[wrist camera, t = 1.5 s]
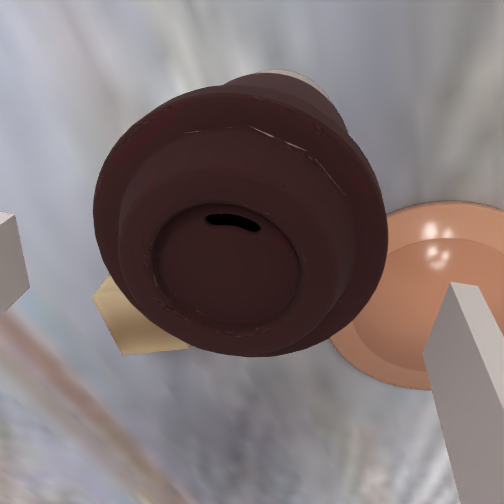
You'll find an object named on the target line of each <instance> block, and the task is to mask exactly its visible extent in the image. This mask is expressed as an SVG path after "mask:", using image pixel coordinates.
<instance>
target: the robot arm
mask: <svg viewBox="0 0 504 504" xmlns="http://www.w3.org/2000/svg"><path fill="white" fill-rule="evenodd" d="M29 288H30V285H29V280H28V276H27V271H26V266H25V261H24V256H23V252H22V247H21V242H20V237H19V232H18V228H17V223H16V218H15V214H8V213H2V212H0V316H1V315H2V314H3V313H4V312H5V311H6V310H7V309H8V308H9V307H10V306H11V305H12V304H13V303H14V302H15V301H16V300H17V299H18V298H19V297H21V296H22V295H23V294H24V293H25V292H26V291H27V290H28V289H29ZM422 354H423V358H424V362H425V365H426V369H427V373H428V377H429V381H430V385H431V389H432V393H433V396H434V400H435V404H436V408H437V412H438V416H439V420H440V424H441V427H442V431H443V435H444V439H445V443H446V447H447V451H448V455H449V458H450V462H451V466H452V470H453V474H454V478H455V482H456V486H457V489H458V493H459V497H460V501H461V504H504V336H503V334H502V332H501V331H500V329H499V327H498V325H497V323H496V321H495V319H494V317H493V315H492V313H491V311H490V309H489V307H488V305H487V303H486V301H485V299H484V297H483V295H482V293H481V291H480V289H479V287H478V286H475V285H469V284H462V283H456V282H450V283H449V286H448V288H447V291H446V294H445V296H444V299H443V301H442V304H441V306H440V309H439V312H438V314H437V317H436V319H435V322H434V325H433V327H432V330H431V332H430V335H429V337H428V340H427V343H426V345H425V348H424V350H423V353H422Z"/></svg>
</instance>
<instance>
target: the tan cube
mask: <svg viewBox="0 0 504 504" xmlns="http://www.w3.org/2000/svg"><path fill="white" fill-rule="evenodd" d="M92 299H93V301H94V303H95V304H96V306H97V308H98V310H99V312H100V314H101V316H102V318H103V319H104V321H105V323H106V325H107V327H108V329H109V331H110V333H111V335H112V336H113V338H114V340H115V342H116V344H117V346H118V348H119V350H120V352H121V353H122V355H128V354H139V353H149V352H160V351H171V350H181V349H189V347H190V344H187V343H185V342H183V341H182V340H180V339H178V338H176V337H174V336H172V335H171V334H169V333H167V332H165V331H164V330H163V329H161V328H160V327H158V326H157V325H155V324H154V323H152V322H151V321H149V320H148V319H147V318H146V317H145V316H144V315H143V314H142V313H141V312H140V311H139V310H137V309H136V308H135V307H134V306H133V305H132V304H131V303H130V302H129V301H128V299H127V298H126V297H125V295H124V294H123V293H122V292H121V290H120V289H119V288H118V286H117V285H116V284H115V282H114V280H113V279H112V277H111V275H110V274H109V275H108V277H107V278H106V279H105V281H104V282H103V283H102V285H101V286H100V287H99V289H98V290H97V291H96V292H95V294H94V295H93V296H92Z"/></svg>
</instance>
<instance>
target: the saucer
mask: <svg viewBox="0 0 504 504" xmlns="http://www.w3.org/2000/svg"><path fill="white" fill-rule="evenodd" d="M386 216H387V224H388V252H387V257H386V262H385V267H384V270H383V274H382V277H381V279H380V282H379V284H378V286H377V288H376V290H375V292H374V294H373V295H372V297H371V298H370V300H369V302H368V303H367V304H366V306H365V307H364V308H363V309H362V311H361V312H360V313H359V314H358V315H357V317H356V318H355V319H354V320H353V321H352V322H350V323H349V324H348V325H347V326H346V327H345V328H343V329H342V330H340V331H339V332H337V333H336V334H334V335H333V336H331V337H330V339H331V341H332V343H333V345H334V346H335V347H336V349H337V350H338V351H339V353H340V354H341V355H342V356H343V357H344V358H345V359H346V360H347V361H348V362H349V363H351V364H352V365H353V366H354V367H356V368H357V369H358V370H360V371H362V372H364V373H365V374H367V375H369V376H371V377H373V378H375V379H377V380H380V381H382V382H385V383H388V384H391V385H395V386H399V387H404V388H410V389H418V390H432V389H431V385H430V381H429V377H428V373H427V369H426V365H425V362H424V358H423V354H422V353H423V350H424V348H425V345H426V343H427V340H428V337H429V335H430V332H431V330H432V327H433V325H434V322H435V319H436V317H437V314H438V312H439V309H440V306H441V304H442V301H443V299H444V296H445V294H446V291H447V288H448V286H449V283H450V282H456V283H462V284H469V285H475V286H478V287H479V289H480V291H481V293H482V295H483V297H484V299H485V301H486V303H487V305H488V307H489V309H490V311H491V313H492V315H493V317H494V319H495V321H496V323H497V325H498V327H499V329H500V331H501V332H502V334H503V336H504V211H503V210H500V209H497V208H494V207H491V206H488V205H483V204H478V203H473V202H463V201H436V202H429V203H422V204H417V205H413V206H410V207H406V208H402V209H400V210H397V211H394V212H392V213H389V214H387V215H386Z"/></svg>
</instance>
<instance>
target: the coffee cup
mask: <svg viewBox="0 0 504 504" xmlns="http://www.w3.org/2000/svg"><path fill="white" fill-rule="evenodd" d="M93 218H94V228H95V236H96V240H97V243H98V246H99V249H100V253H101V256H102V259H103V262H104V264H105V265H106V267H107V269H108V271H109V273H110V275H111V277H112V279H113V280H114V282H115V284H116V285H117V286H118V288H119V289H120V290H121V292H122V293H123V294H124V295H125V297H126V298H127V299H128V301H129V302H130V303H131V304H132V305H133V306H134V307H135V308H136V309H137V310H139V311H140V312H141V313H142V314H143V315H144V316H145V317H146V318H147V319H148V320H149V321H151V322H152V323H154V324H155V325H157V326H158V327H160V328H161V329H163V330H164V331H165V332H167V333H169V334H171V335H172V336H174V337H176V338H178V339H180V340H182V341H183V342H185V343H187V344H190V345H192V346H195V347H197V348H200V349H203V350H207V351H211V352H215V353H220V354H225V355H234V356H242V357H271V356H278V355H283V354H288V353H292V352H296V351H300V350H304V349H307V348H309V347H311V346H313V345H316V344H318V343H320V342H322V341H325V340H327V339H328V338H330V337H331V336H333V335H334V334H336V333H337V332H339V331H340V330H342V329H343V328H345V327H346V326H347V325H348V324H349V323H350V322H352V321H353V320H354V319H355V318H356V317H357V315H358V314H359V313H360V312H361V311H362V309H363V308H364V307H365V306H366V304H367V303H368V302H369V300H370V298H371V297H372V295H373V294H374V292H375V290H376V288H377V286H378V284H379V282H380V279H381V277H382V274H383V270H384V267H385V262H386V257H387V252H388V224H387V216H386V212H385V207H384V203H383V199H382V195H381V190H380V187H379V184H378V181H377V179H376V176H375V173H374V172H373V170H372V168H371V166H370V164H369V162H368V160H367V158H366V157H365V155H364V154H363V152H362V151H361V149H360V148H359V147H358V145H357V144H356V143H355V141H354V140H353V139H352V138H351V137H350V136H349V135H348V132H347V129H346V127H345V124H344V122H343V120H342V118H341V116H340V114H339V113H338V111H337V110H336V108H335V107H334V105H333V104H332V102H331V101H330V99H329V97H328V96H327V95H326V94H325V92H324V91H323V90H322V89H321V88H320V87H319V86H318V85H316V84H315V83H314V82H312V81H311V80H310V79H308V78H306V77H304V76H302V75H300V74H297V73H294V72H291V71H285V70H267V71H262V72H258V73H255V74H250V75H246V76H242V77H239V78H236V79H234V80H232V81H230V82H228V83H226V84H224V85H221V86H211V87H206V88H202V89H198V90H194V91H191V92H188V93H185V94H182V95H180V96H177V97H175V98H173V99H171V100H169V101H167V102H166V103H164V104H162V105H160V106H159V107H157V108H156V109H154V110H153V111H151V112H150V113H149V114H147V115H146V116H144V117H143V118H142V119H140V120H139V121H138V122H136V123H135V124H134V125H132V126H131V127H130V128H129V129H128V131H127V132H126V133H125V134H124V135H123V136H122V137H121V138H120V139H119V140H118V141H117V143H116V144H115V146H114V147H113V148H112V150H111V151H110V153H109V155H108V156H107V158H106V160H105V162H104V164H103V166H102V169H101V171H100V174H99V177H98V181H97V184H96V188H95V194H94V202H93Z"/></svg>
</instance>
